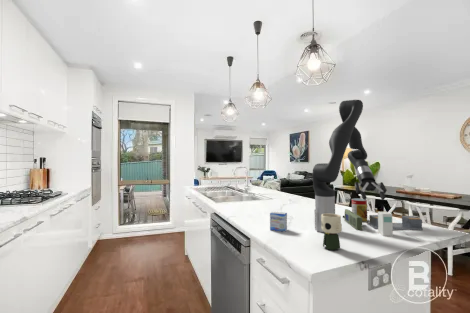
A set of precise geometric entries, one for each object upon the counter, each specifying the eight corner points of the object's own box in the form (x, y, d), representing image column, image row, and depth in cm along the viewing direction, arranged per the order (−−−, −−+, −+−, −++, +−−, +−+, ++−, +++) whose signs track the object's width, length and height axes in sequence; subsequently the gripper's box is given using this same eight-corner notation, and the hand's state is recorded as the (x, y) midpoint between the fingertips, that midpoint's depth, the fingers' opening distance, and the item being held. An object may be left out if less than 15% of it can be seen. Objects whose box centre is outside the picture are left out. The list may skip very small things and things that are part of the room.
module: (383, 236, 106) (382, 214, 106) (378, 232, 111) (377, 211, 112) (393, 236, 106) (392, 214, 106) (387, 233, 111) (386, 211, 111)
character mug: (315, 244, 96) (314, 213, 96) (329, 242, 98) (328, 211, 98) (333, 254, 85) (333, 219, 86) (349, 252, 87) (348, 217, 88)
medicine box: (269, 230, 117) (269, 213, 117) (271, 228, 121) (271, 211, 121) (285, 232, 114) (285, 214, 114) (287, 229, 118) (286, 212, 118)
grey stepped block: (374, 228, 118) (374, 218, 118) (367, 223, 127) (367, 214, 127) (422, 230, 114) (422, 219, 115) (412, 225, 123) (411, 215, 124)
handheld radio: (355, 230, 116) (340, 218, 140) (362, 231, 115) (346, 218, 140) (356, 217, 116) (340, 207, 141) (363, 217, 115) (346, 207, 140)
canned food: (370, 221, 133) (370, 200, 133) (358, 222, 131) (358, 200, 131) (360, 218, 140) (359, 198, 141) (349, 219, 138) (348, 198, 139)
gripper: (353, 171, 130) (361, 194, 118) (380, 171, 128) (392, 194, 116) (350, 179, 135) (357, 203, 123) (376, 179, 133) (387, 203, 121)
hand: (374, 199), depth 120 cm, fingers open, 8 cm apart
